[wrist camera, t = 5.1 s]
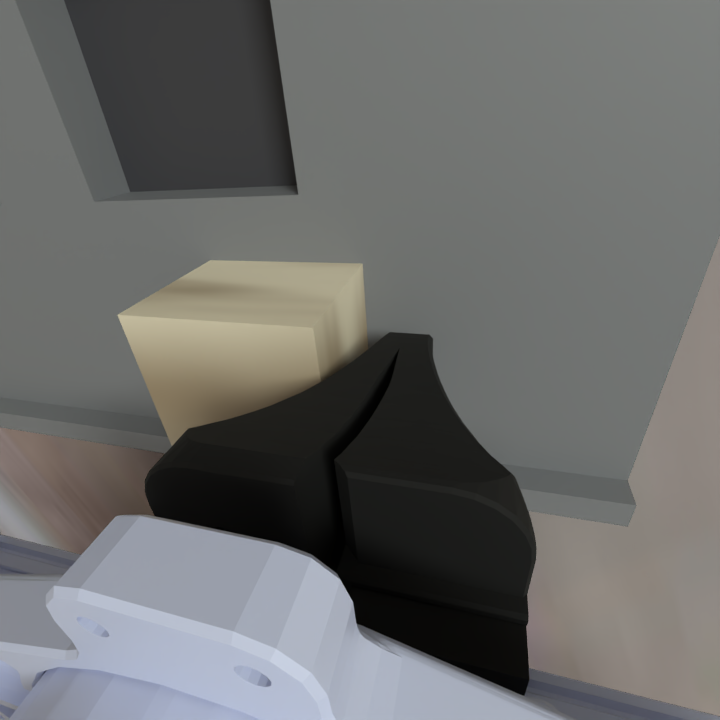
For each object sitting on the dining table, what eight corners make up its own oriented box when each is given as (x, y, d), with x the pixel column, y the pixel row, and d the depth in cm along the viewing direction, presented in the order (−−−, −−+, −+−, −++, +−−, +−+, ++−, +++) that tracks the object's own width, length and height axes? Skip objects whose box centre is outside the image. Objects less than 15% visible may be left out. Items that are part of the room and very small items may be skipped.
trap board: (606, 458, 15) (632, 540, 13) (-62, 377, 25) (-134, 413, 22) (894, -429, 6) (1248, -888, 3) (-355, -21, 15) (-546, -46, 13)
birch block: (372, 402, 14) (336, 491, 11) (244, 388, 16) (179, 465, 12) (362, 263, 12) (313, 327, 9) (210, 259, 13) (117, 314, 10)
